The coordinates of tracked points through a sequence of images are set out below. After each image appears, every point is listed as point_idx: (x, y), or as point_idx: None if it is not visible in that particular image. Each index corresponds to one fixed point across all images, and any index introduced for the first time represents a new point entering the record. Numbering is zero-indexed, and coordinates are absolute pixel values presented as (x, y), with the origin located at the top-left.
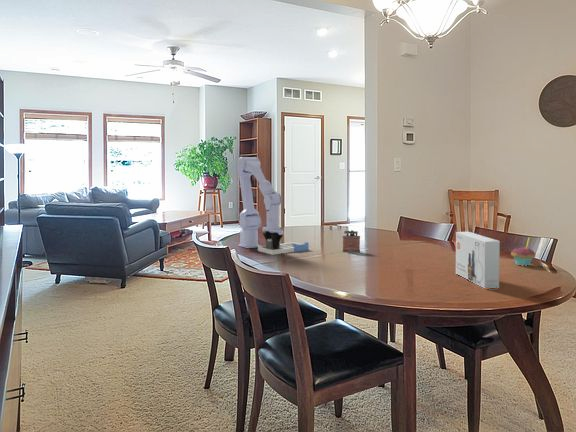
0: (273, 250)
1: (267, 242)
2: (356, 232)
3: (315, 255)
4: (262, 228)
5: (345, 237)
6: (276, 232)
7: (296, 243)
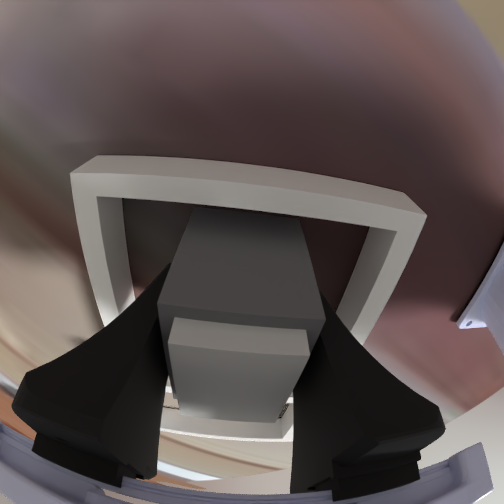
0: (73, 188)
1: (270, 297)
2: None
3: (10, 333)
4: (488, 477)
5: None
6: (82, 482)
7: (248, 438)
